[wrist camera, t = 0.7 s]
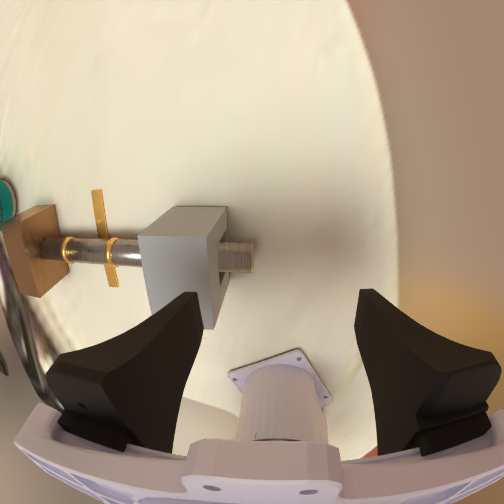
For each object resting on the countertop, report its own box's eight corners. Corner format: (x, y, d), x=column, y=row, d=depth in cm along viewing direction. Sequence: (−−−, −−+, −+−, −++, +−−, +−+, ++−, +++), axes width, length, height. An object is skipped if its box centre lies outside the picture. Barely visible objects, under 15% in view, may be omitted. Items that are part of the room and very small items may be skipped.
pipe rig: (255, 185, 20) (247, 203, 15) (254, 296, 23) (248, 336, 19) (33, 196, 21) (-3, 212, 17) (52, 278, 25) (24, 302, 20)
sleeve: (226, 206, 20) (206, 237, 15) (229, 281, 23) (213, 329, 17) (173, 206, 20) (137, 235, 15) (180, 278, 23) (153, 323, 17)
